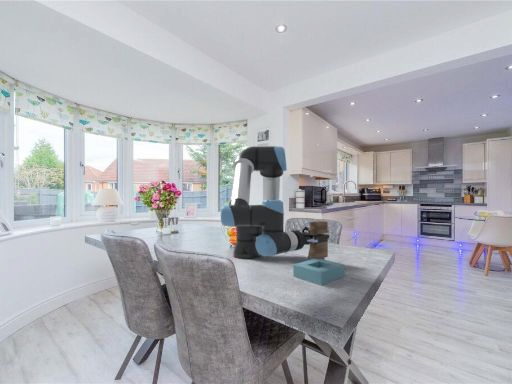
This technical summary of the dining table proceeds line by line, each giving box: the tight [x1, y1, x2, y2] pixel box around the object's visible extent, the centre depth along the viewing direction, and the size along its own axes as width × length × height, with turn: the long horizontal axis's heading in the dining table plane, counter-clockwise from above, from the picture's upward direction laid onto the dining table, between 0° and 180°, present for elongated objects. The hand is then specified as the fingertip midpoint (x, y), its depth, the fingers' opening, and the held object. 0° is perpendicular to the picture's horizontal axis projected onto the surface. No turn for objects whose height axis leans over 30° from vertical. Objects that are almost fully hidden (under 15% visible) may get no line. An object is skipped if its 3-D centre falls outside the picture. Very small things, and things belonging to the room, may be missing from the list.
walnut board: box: [309, 220, 329, 259], centre depth 104 cm, size 4×7×15 cm, turn 131°
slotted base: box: [292, 259, 345, 286], centre depth 104 cm, size 14×17×5 cm
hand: (326, 234), depth 107 cm, fingers closed on walnut board, 4 cm apart
